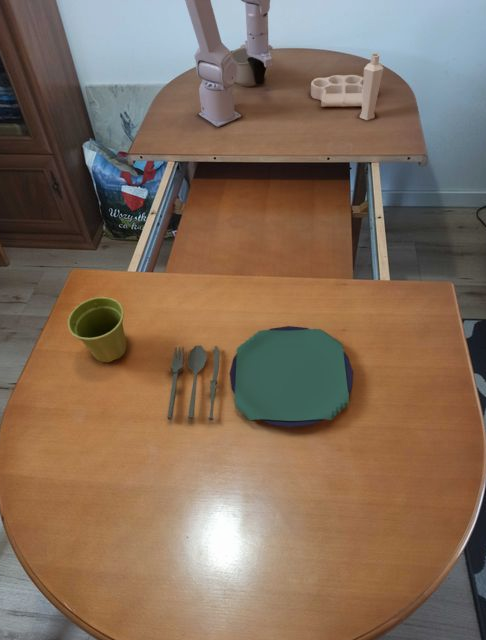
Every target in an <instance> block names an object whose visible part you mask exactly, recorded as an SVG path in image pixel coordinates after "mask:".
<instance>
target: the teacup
mask: <svg viewBox="0 0 486 640" xmlns="http://www.w3.org/2000/svg"><path fill="white" fill-rule="evenodd" d="M233 50H234V51H233ZM233 50H231V51H232V52H231V54H232V57H233V59H234V60H235V61H236V63H237V66H238V74H237V78H236V80H235V82H234V83H236V84H238V85H239V86H241V87H245V88H247V87H253V86H257V85H256V84H255V80H254V75H253V72H252V69H251V66H250V64H249V62H248V60H247V59H248V58H249V57H251V56H249V55H248V54H247V49H246V48H245V44H241V45H240V47H239V48H238V47H237V48H236V49H233ZM266 74H267V70H266V71H265V75H264V77H265V76H266Z"/></svg>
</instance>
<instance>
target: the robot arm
mask: <svg viewBox="0 0 486 640" xmlns="http://www.w3.org/2000/svg"><path fill="white" fill-rule="evenodd" d="M240 1H241V2H243V3H244V4H245V5H244V6H245V22H246V23H245V24H246V40H245V41H244V45H245V48H246V49H247V54H248V55H249V56H251V57H249V58H248V59H247V60H248V62H249V64H250V66H251V69H252V72H253V75H254V80H255V84H256V85H255V86H261V85H264V84H265V76H266V74H265V71H266V72H267V69H268V68H269V67H273V57H272V56H271V51H273V48H274V47H273V46H272V45H271V44H269V12H270V9H271V0H240ZM184 2H185V4H186V9H187V11H188V14H189V18H190V21H191V24H192V28H193V31H194V35H195V38H196V40H197V44H198V47H199V48H197V50H196V51H195V54H194V59H195V72H196V76H197V77H198V78H199V79H201V82H200V85H199V90H198V93H199V102H200V110H201V112H200V111H199V113H198V115H199V116H200V117H202V118H203V119H204V120H206V121H208V122H209V123H211V124H212V125H214V126H216V128H217V127H218V128H220V127H222V126H224V125H226V124H228V123H230V122H232V121H235V120H237V119H240V118H241V117H242V114H240V113H239V112H237V111H236V110H235V104H234V103H235V102H234V93H233V85H234V84H235V83H236V82H235V80H236V78H237V74H238V66H237V63H236V61H235V60H234V59H233V57H232V54H231V51H232V50H230V49H229V48H228V47H227V46H226V45H225V44H224V43H223V42H222V38H221V35H220V31H219V27H218V23H217V19H216V16H215V12H214V9H213V4H212V1H211V0H184ZM264 75H265V76H264Z"/></svg>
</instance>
